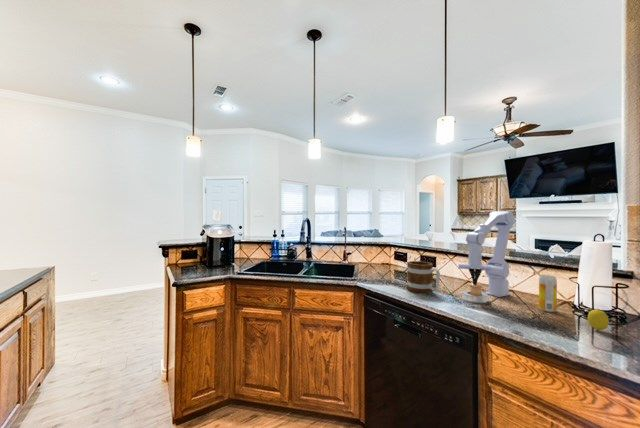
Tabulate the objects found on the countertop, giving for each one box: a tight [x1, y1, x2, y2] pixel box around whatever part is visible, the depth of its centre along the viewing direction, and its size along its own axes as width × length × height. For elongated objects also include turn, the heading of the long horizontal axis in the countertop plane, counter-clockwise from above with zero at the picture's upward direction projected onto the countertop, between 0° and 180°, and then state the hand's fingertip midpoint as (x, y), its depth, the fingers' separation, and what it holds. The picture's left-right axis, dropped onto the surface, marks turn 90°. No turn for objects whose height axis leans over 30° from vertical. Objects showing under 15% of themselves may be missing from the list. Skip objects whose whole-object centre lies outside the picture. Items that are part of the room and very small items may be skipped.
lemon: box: [587, 308, 610, 332], centre depth 103 cm, size 6×6×8 cm
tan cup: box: [468, 282, 483, 295], centre depth 140 cm, size 6×6×7 cm
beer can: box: [538, 274, 558, 313], centre depth 125 cm, size 6×6×15 cm
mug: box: [406, 260, 441, 295], centre depth 154 cm, size 20×14×15 cm
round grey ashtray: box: [461, 289, 489, 304], centre depth 140 cm, size 11×11×3 cm
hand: (474, 284), depth 140 cm, fingers closed, pressing on tan cup
